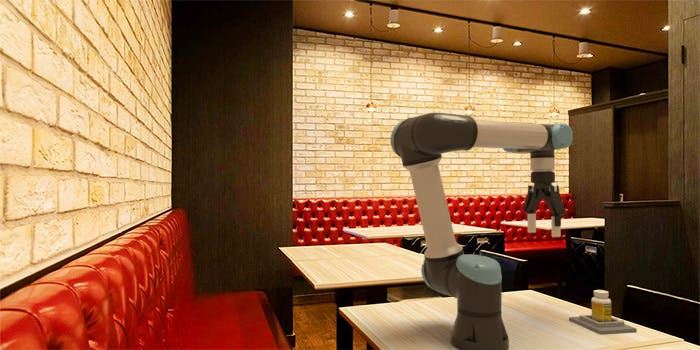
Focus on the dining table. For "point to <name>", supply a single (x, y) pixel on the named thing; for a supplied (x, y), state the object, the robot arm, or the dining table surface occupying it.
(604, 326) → the socket board
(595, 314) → the supplement bottle
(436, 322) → the dining table surface
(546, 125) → the robot arm
